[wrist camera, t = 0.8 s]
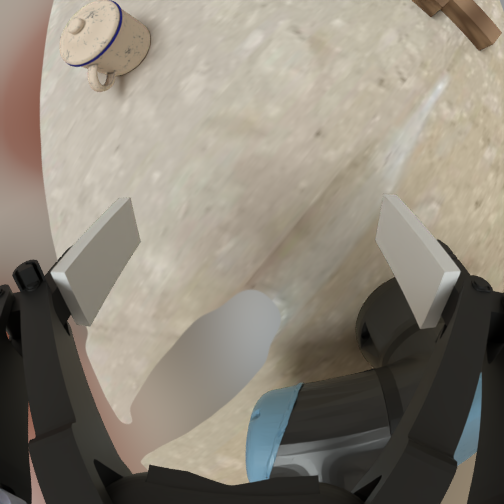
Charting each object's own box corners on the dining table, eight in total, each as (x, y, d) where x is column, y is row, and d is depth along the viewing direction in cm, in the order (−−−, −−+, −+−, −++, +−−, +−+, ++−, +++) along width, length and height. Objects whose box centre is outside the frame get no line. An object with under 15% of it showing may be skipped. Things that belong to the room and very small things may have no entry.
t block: (494, 31, 21) (507, 25, 17) (470, 60, 24) (485, 53, 21) (437, -26, 20) (447, -37, 16) (408, -3, 23) (418, -15, 19)
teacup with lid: (100, 31, 29) (51, 9, 18) (155, 14, 28) (112, -21, 17) (95, 103, 33) (38, 95, 22) (151, 90, 32) (99, 72, 21)
